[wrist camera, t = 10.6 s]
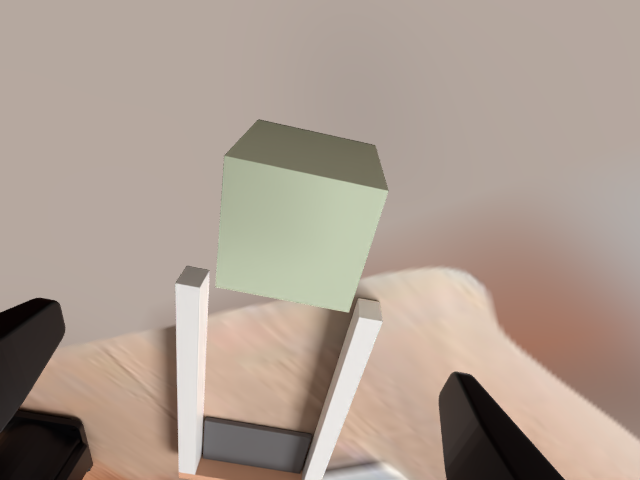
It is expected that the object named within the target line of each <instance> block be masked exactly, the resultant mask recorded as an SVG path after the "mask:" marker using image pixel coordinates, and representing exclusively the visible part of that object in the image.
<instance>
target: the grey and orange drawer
mask: <svg viewBox="0 0 640 480" xmlns="http://www.w3.org/2000/svg"><path fill="white" fill-rule="evenodd" d="M310 440H311V434H307V433H301V432H295V431H289V430H283V429H277V428H271V427H265V426H259V425H253V424H247V423H241V422H235V421H229V420H223V419H217V418H211V417H206V419H205V428H204V450H203V454H202V455H201V458H200V461H199V464H198V467H197V470H196V473H195V475H193V474H187V473H181V472H179V478H184V479H191V480H302V471H303V470H301V468H302V465H303V462H304V459H305V456H306V453H307V450H308V446H309V443H310Z"/></svg>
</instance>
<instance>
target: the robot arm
mask: <svg viewBox="0 0 640 480" xmlns="http://www.w3.org/2000/svg"><path fill="white" fill-rule="evenodd" d="M64 333H65V323H64V319H63V315H62V310H61V307H60V304H59V303H58V302H57V301H55V300H50V299H44V298H35V299H32V300H29V301H27V302H25V303H22V304H20V305H17V306H15V307H13V308H10V309H8V310H6V311H3V312H1V313H0V480H82V479H83V477H84V476H85V474H86V472H88V471H90V469H91V468H92V466H93V462H92V458H91V454H90V450H89V446H88V442H87V438H86V434H85V430H84V426H83V424H82V423H81V422H79V421H77V420H71V419H65V418H59V417H53V416H47V415H41V414H35V413H28V412H22V411H17V410H18V409H19V407H20V406H21V404H22V403H23V402H24V400H25V398H26V397H27V395H28V394H29V392H30V391H31V389H32V387H33V386H34V384H35V383H36V381H37V379H38V378H39V376H40V374H41V373H42V371H43V370H44V368H45V366H46V365H47V363H48V361H49V360H50V358H51V356H52V355H53V353H54V352H55V350H56V348H57V347H58V345H59V343H60V342H61V340H62V338H63V336H64ZM439 412H440V423H441V433H442V444H443V455H444V464H445V472H446V478H447V480H565V479H564V478H563V477H562V476H561V475H560V474H559V473H558V471H557V470H556V469H555V468H554V467H553V466H552V465H551V464H550V462H549V461H548V460H547V459H546V458H545V457H544V456H543V455H542V453H541V452H540V451H539V450H538V449H537V448H536V447H535V445H534V444H533V443H532V442H531V441H530V440H529V439H528V438H527V436H526V435H525V434H524V433H523V432H522V431H521V430H520V429H519V427H518V426H517V425H516V424H515V423H514V422H513V421H512V420H511V418H510V417H509V416H508V415H507V414H506V413H505V412H504V411H503V409H502V408H501V407H500V406H499V405H498V404H497V403H496V401H495V400H494V399H493V398H492V397H491V396H490V395H489V394H488V392H487V391H486V390H485V389H484V388H483V387H482V386H481V385H480V383H479V382H478V381H477V380H476V379H475V378H474V377H473V376H472V375H470V374H467V373H461V372H453V373H451V375H450V376H449V378H448V380H447V382H446V383H445V385H444V387H443V389H442V390H441V392H440V395H439Z"/></svg>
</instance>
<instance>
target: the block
mask: <svg viewBox="0 0 640 480" xmlns="http://www.w3.org/2000/svg"><path fill="white" fill-rule="evenodd" d="M388 191H389V190H388V187H387V184H386V180H385V177H384V173H383V170H382V167H381V163H380V159H379V156H378V153H377V149H376V146H375V145H372V144H368V143H364V142H359V141H355V140H350V139H345V138H341V137H337V136H332V135H327V134H323V133H319V132H314V131H310V130H305V129H300V128H296V127H291V126H287V125H282V124H277V123H273V122H269V121H264V120H260V119H259V120H257V122H256V123H254V125H253V126H252V127H251V128H250V129H249V130H248V131H247V132H246V133H245V134H244V135H243V136H242V137H241V138H240V140H239V141H238V142H237V143H236V144H235V145H234V146H233V147H232V148H231V149H230V150H229V151H228V152H227V153H226V154H225V156H224V168H223V183H222V198H221V212H220V226H219V243H218V256H217V271H216V286H215V287H218V288H223V289H228V290H234V291H239V292H244V293H249V294H255V295H260V296H265V297H270V298H276V299H280V300H285V301H291V302H296V303H301V304H306V305H311V306H317V307H322V308H327V309H332V310H337V311H343V312H348V313H349V310H350V307H351V304H352V301H353V298H354V295H355V292H356V289H357V286H358V283H359V280H360V277H361V274H362V271H363V268H364V264H365V261H366V259H367V255H368V252H369V249H370V246H371V243H372V240H373V237H374V234H375V231H376V228H377V225H378V222H379V219H380V215H381V213H382V210H383V207H384V203H385V201H386V197H387V194H388Z"/></svg>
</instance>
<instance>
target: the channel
mask: <svg viewBox="0 0 640 480" xmlns="http://www.w3.org/2000/svg"><path fill="white" fill-rule="evenodd" d="M209 271H210V270H207V269H201V268H196V267H191V266H186V268H185V269H184V271H183V273H182V274H181V275H180V277H179V278H178V280H177V281H176V283H175V294H176V295H175V297H176V350H177V401H178V452H179V472H181V473H187V474H193V475H195V473H196V470H197V467H198V464H199V461H200V458H201V455H202V439H203V415H204V391H205V367H206V344H207V320H208V296H209V273H210V272H209ZM382 322H383V320H382V313H381V306H380V302H377V301H372V300H367V299H361V298H358V300H357V303H356V306H355V309H354V312H353V316H352V319H351V322H350V325H349V328H348V331H347V334H346V337H345V340H344V343H343V347H342V350H341V353H340V356H339V359H338V362H337V365H336V368H335V371H334V375H333V378H332V381H331V384H330V387H329V390H328V393H327V396H326V399H325V402H324V406H323V409H322V412H321V415H320V418H319V421H318V424H317V427H316V430H315V433H314V437H313V440H312V443H311V446H310V449H309V452H308V455H307V458H306V461H305V464H304V468H303V471H302V480H322V478H323V475H324V473H325V470H326V467H327V465H328V462H329V460H330V457H331V454H332V452H333V449H334V447H335V444H336V441H337V439H338V436H339V434H340V431H341V428H342V426H343V423H344V421H345V418H346V415H347V413H348V410H349V408H350V405H351V402H352V400H353V397H354V395H355V392H356V389H357V387H358V384H359V382H360V379H361V376H362V374H363V371H364V369H365V366H366V364H367V361H368V358H369V356H370V353H371V351H372V348H373V345H374V343H375V340H376V338H377V335H378V332H379V330H380V327H381V325H382Z"/></svg>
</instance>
